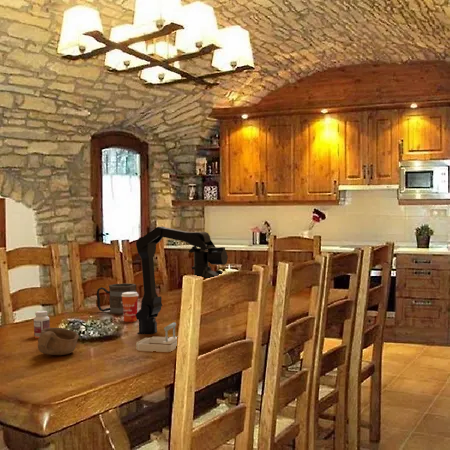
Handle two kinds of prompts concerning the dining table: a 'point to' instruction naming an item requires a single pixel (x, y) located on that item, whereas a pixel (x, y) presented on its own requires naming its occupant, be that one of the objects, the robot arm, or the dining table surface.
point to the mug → (116, 297)
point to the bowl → (57, 341)
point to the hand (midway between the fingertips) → (201, 303)
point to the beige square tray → (155, 345)
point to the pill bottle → (40, 322)
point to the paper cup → (130, 306)
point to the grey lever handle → (171, 339)
